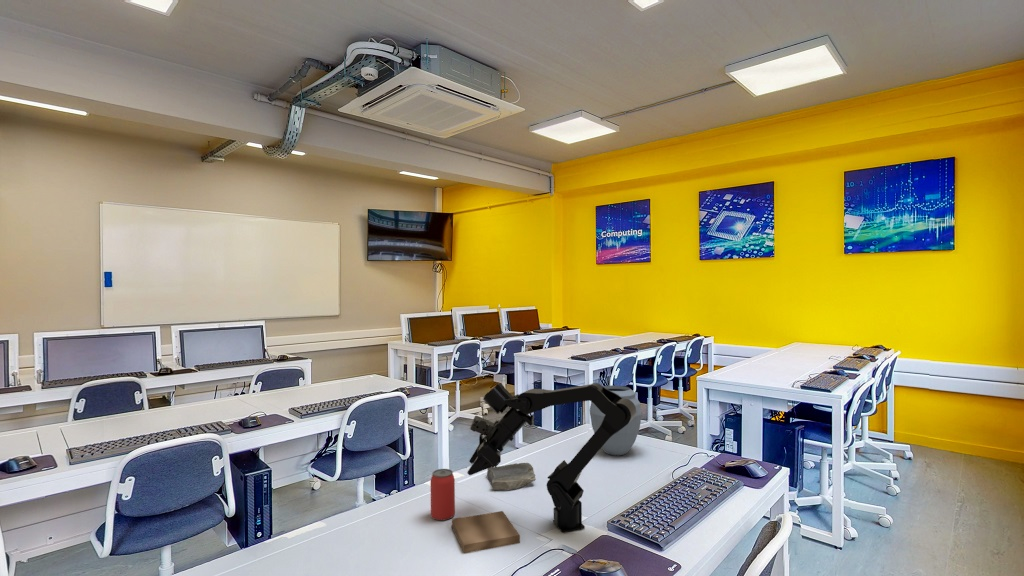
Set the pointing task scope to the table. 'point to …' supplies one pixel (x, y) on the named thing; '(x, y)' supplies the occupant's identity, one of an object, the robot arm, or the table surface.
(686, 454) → the table surface
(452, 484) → the beer can
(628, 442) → the vase
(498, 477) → the grey irregular stone
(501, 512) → the walnut block
